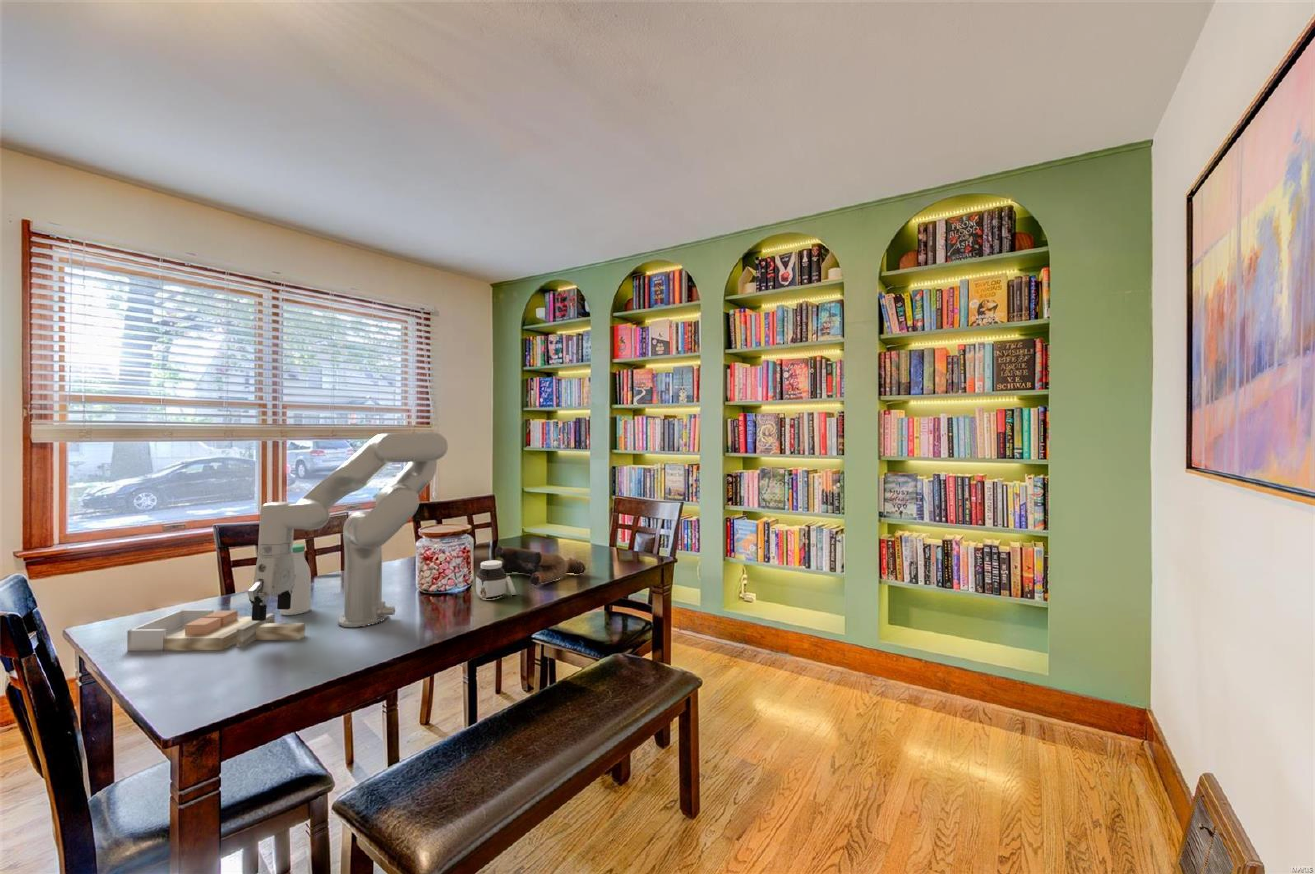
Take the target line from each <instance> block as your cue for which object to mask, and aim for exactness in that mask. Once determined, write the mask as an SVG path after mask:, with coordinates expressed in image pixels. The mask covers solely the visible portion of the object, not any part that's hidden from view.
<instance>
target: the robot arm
mask: <svg viewBox="0 0 1315 874" xmlns="http://www.w3.org/2000/svg"><path fill="white" fill-rule="evenodd" d="M448 447H449V444H448V440H447V438H446V437H444V436H443V435H442V434H440V433H438V432H430V431H429V432H427V431H426V432H425V431H423V432H414V433H413V432H411V433H409V432H408V433H406V432H405V433H402V432H401V433H400V432H399V433H397V432H383V433H378V434H376V435H375V436H374V437H373V436H372V438H371V439H369V441H367V442H366V443H365V444H364V445H363V446H362V447H360V448H359V450H357V451H356V452H355V453H354V454H353V455H352V456H351V457H350V458H348V459H347V460H346V461H345V462H344V463H342V464H341V465H340V466H339V467H338V468H336V469H335V470H334V471H332V472H331V473H330V474H329V475H328V476H326V477H324V479H322V480H321V481H319V482H318V483H317V484H316V485H315V486H314V487H312V488H311V489H310V490H309V491H308V492H306V493H305V495H303V496H302V497H301V498H300V499H299V500H298V501H297V502H295V504H294V503H292V502H288V501H273V502H272V501H271V502H266V503H263V504H262V505H261V507H260V510H259V511H260V512H259V527H258V528H259V529H258V530H259V531H258V543H257V544H258V545H257V559H256V565H255V567H254V575H253V585H252V587H250V588H249V589H248V590H247V595H248V601H249V602H250V606H251V616H252V621H264V620H266V615H267V607H268V606H267V604H266V602H267V600H268V598H269V597H270V596H271V597H274V596H277V605H276V607H277V608H276V609H277V610H280V609H285V610H288V609H290V606H291V594H292V592H293V590H292V589H293V587H294V585H295V584H294V583H295V579H296V575H295V563H294V555H293V552H292V551H293V545H294V533H295V532H294V531H295V530H307V531H312V530H313V531H314V530H318V529H321V528H323V527H324V526H325V525H327V524H328V522H329V521H330V515H331V514H330V509H331V508H332V507H334V505H335V504H336V503H338V502H339V501H341V500H342V499H343V498H345V497H346V496H348V495H350V494H352V493H355V492H358V491H360V490H361V489H363V488H364V487H366V486H367V485H368V484H369V483H371V482H372V480H373V479H374V478H375V477H377V476H378V475H379V474H380V473H381V472H382V471H383V469H385V468H386V467H387V466H388V465H389V464H390V463H407V465H406V466H405V467H404V468H403V469H402V470H401V471H400V472H399V473H398V474H397V475H396V476H395V477H394V478H393V479H392V480H391V481H390V482H389V483H388V484H386V485H385V486H384V487H383V488H381V490H379V491H378V493H377V494H376V497H375V506H374V507H373V508H372V509H371V510H370V511H369V510H359V511H356V512H354V513H352V514H350V515H349V516H348V518H347V519H346V520H345V521H344V524H343V529H342V536H343V539H342V540H343V548H344V601H343V602H344V605H343V606H344V607H343V608H344V612H343V613H344V614H343V615H341V616H340V617H339V618H338V619H337V624H338V626H340V625H341V627H344V628H360V627H359V626H362V627H365V626H364V625H368V624H372V623H376V624H379V623H380V622H379V621H381V620H383V619H385V618H386V617H387V618H388V616H394V615H395V613H396V608H395V606H393V605H392V606H390V605H389V606H387V605H386V601H383V600H382V599H383V596H382V595H383V550H382V549H383V548H382V546H383V545H385V544H386V543H387V542H388V541H390V540H391V538H392V537H393V536H394V535H396V534H397V533H398V532H399V531H400V530H401V529H402V528H403V527H404V526H405V525H406V524H407V523H408V522H409V521H410V520H411V518H413V517H414V515H415V514H416V513H417V510H418V508H419V506H420V505H419V504H420V498H419V495H420V494H422V492H423V491H424V490H425V489H426V487H428V485H429V484H431V482H432V481H433V479H434V478H435V475H436V472H437V465H438V460H440V459H442V458H444V456H445V455H446V454H447V452H448ZM260 597H262V598H260ZM387 615H388V616H387ZM387 618H386V619H387ZM386 619H385V620H386ZM383 621H384V620H383ZM378 622H379V623H378ZM381 622H382V621H381ZM372 625H373V624H372ZM368 626H369V625H368Z"/></svg>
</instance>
